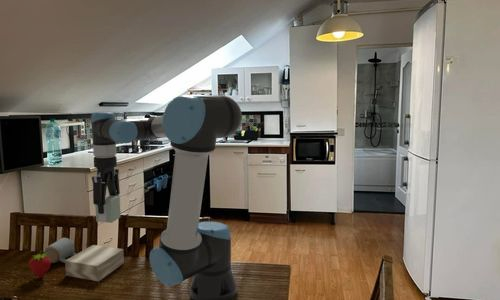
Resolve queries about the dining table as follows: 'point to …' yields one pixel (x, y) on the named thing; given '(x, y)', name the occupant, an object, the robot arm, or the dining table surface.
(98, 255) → the birch block
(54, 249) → the ceramic mug
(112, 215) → the sage block
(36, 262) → the strawberry
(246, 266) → the dining table surface
